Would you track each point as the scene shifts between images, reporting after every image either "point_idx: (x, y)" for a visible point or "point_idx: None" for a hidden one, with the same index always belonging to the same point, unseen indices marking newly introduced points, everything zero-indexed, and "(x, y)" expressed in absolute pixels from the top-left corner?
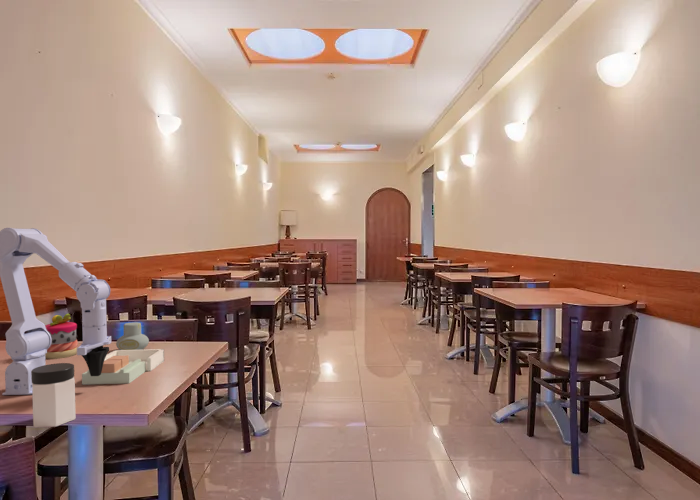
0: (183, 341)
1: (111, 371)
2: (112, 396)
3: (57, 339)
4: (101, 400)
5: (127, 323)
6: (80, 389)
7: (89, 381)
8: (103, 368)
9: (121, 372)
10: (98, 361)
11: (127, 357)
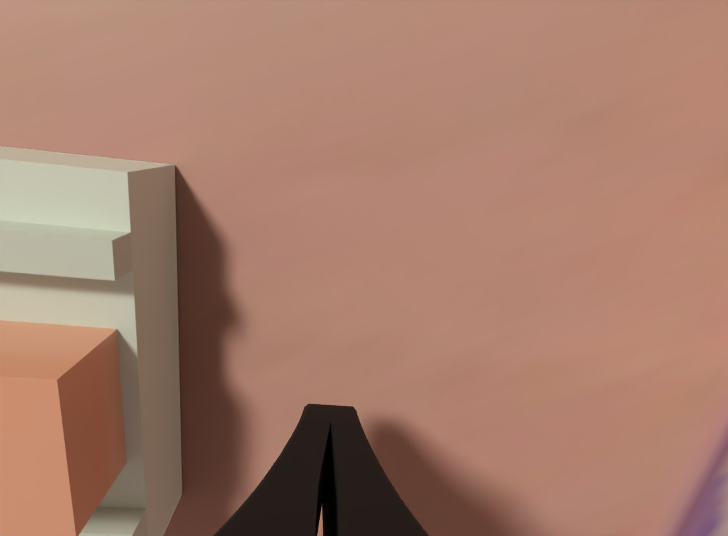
0: None
1: (111, 362)
2: (513, 193)
3: None
4: (583, 243)
5: None
6: None
7: (173, 468)
8: (100, 453)
9: (130, 256)
10: (420, 531)
11: None
